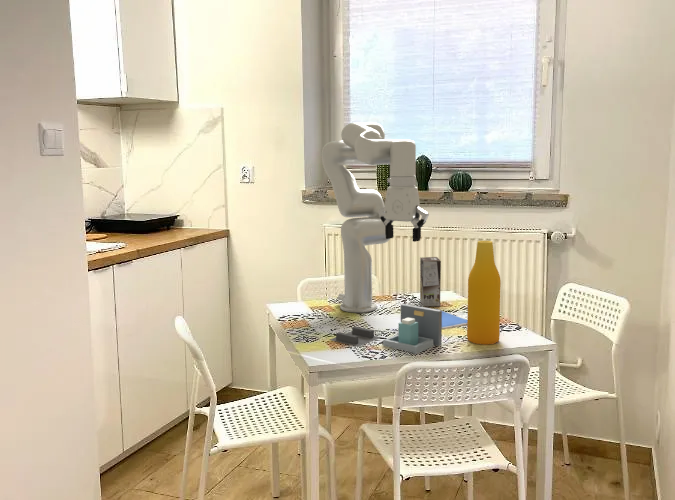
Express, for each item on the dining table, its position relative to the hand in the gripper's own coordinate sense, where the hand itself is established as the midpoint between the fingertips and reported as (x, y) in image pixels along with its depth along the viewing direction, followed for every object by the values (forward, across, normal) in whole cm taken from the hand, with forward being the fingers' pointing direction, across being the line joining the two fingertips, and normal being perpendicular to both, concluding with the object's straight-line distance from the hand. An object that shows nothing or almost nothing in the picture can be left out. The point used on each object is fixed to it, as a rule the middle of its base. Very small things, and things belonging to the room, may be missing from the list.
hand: (402, 239), depth 204 cm
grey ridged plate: (+28, -6, -16) cm, 33 cm away
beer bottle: (+28, +24, +6) cm, 38 cm away
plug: (+28, +10, -12) cm, 32 cm away
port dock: (+28, +10, -11) cm, 32 cm away
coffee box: (+28, -12, +35) cm, 47 cm away
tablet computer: (+29, +2, +18) cm, 34 cm away
